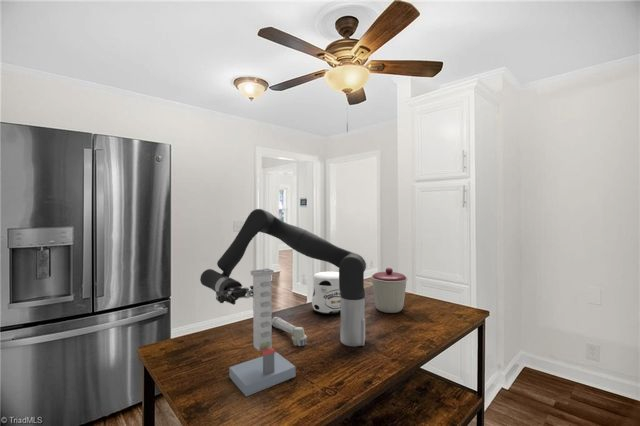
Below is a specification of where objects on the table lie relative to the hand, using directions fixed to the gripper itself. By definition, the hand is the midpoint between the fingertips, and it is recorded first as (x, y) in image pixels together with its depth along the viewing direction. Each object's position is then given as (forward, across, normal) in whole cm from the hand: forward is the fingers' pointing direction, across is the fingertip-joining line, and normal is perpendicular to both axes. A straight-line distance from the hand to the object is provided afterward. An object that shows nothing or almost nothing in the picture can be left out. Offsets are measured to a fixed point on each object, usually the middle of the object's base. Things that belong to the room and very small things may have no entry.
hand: (247, 299), depth 100 cm
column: (+11, 0, +12) cm, 16 cm away
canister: (-5, +78, +21) cm, 81 cm away
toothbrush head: (-10, +22, +22) cm, 33 cm away
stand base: (+11, 0, +21) cm, 24 cm away
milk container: (-22, +53, +21) cm, 62 cm away
